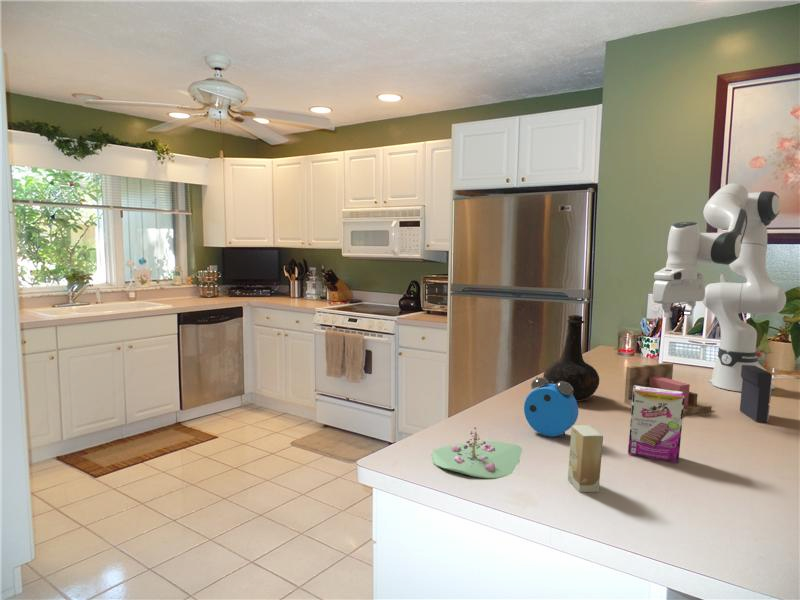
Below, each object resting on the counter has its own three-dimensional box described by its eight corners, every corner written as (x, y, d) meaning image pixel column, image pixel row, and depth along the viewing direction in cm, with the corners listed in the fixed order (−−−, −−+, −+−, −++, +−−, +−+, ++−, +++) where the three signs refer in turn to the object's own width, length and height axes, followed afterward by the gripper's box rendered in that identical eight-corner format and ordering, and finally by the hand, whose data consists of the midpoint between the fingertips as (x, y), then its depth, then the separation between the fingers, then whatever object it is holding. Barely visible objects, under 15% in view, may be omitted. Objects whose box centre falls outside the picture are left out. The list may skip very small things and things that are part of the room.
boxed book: (657, 396, 171) (659, 376, 170) (687, 406, 161) (689, 384, 160) (648, 398, 169) (649, 377, 168) (678, 407, 159) (679, 385, 158)
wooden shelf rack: (666, 396, 176) (669, 362, 175) (711, 410, 162) (714, 373, 161) (624, 402, 168) (626, 366, 167) (667, 417, 154) (670, 378, 152)
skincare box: (566, 479, 111) (570, 424, 109) (586, 478, 111) (589, 424, 110) (579, 493, 104) (583, 435, 103) (600, 493, 105) (604, 435, 103)
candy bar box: (627, 455, 125) (632, 389, 123) (628, 448, 129) (632, 384, 127) (679, 464, 120) (685, 396, 118) (678, 456, 124) (683, 390, 123)
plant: (468, 434, 138) (470, 401, 137) (542, 454, 125) (544, 418, 124) (414, 463, 118) (415, 426, 117) (494, 491, 106) (496, 449, 105)
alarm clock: (577, 436, 136) (580, 381, 135) (569, 443, 131) (572, 386, 130) (531, 425, 144) (533, 373, 143) (521, 431, 139) (524, 377, 138)
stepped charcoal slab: (770, 423, 151) (774, 373, 149) (753, 422, 152) (758, 372, 150) (752, 411, 162) (756, 365, 160) (737, 410, 162) (741, 364, 161)
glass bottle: (539, 401, 168) (543, 316, 165) (545, 387, 184) (549, 310, 182) (597, 408, 161) (603, 320, 158) (598, 394, 178) (603, 314, 175)
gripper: (693, 271, 170) (691, 312, 172) (650, 273, 162) (647, 316, 163) (712, 273, 164) (709, 315, 166) (667, 275, 156) (664, 319, 158)
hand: (678, 316), depth 165 cm, fingers open, 8 cm apart
